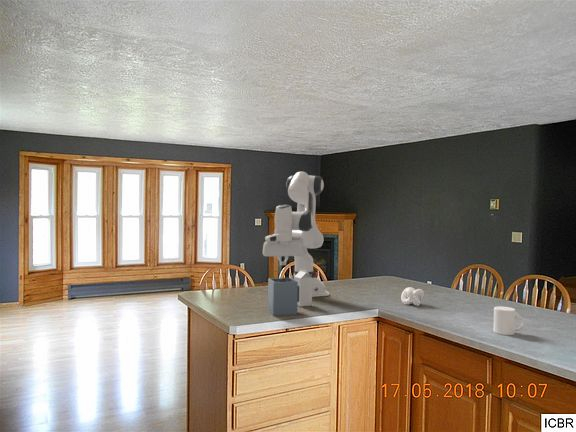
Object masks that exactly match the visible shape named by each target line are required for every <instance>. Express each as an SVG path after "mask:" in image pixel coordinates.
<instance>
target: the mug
mask: <svg viewBox="0 0 576 432" xmlns="http://www.w3.org/2000/svg"><path fill="white" fill-rule="evenodd" d="M516 317H517V318H518V319H520V321H521V324H520V325H519V326H516ZM525 325H526V324H525V320H524V318H523V317H522V316H521V314H520V313H518V312H517V311H516V309H515V308H513V307H509V306H502V305H501V306H494V307H493V328H492V329H493V332H494V333H496V334H497V335H503V336H514V335H515V334H516V332H518V331H522V330H523V329H524V328H525Z"/></svg>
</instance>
